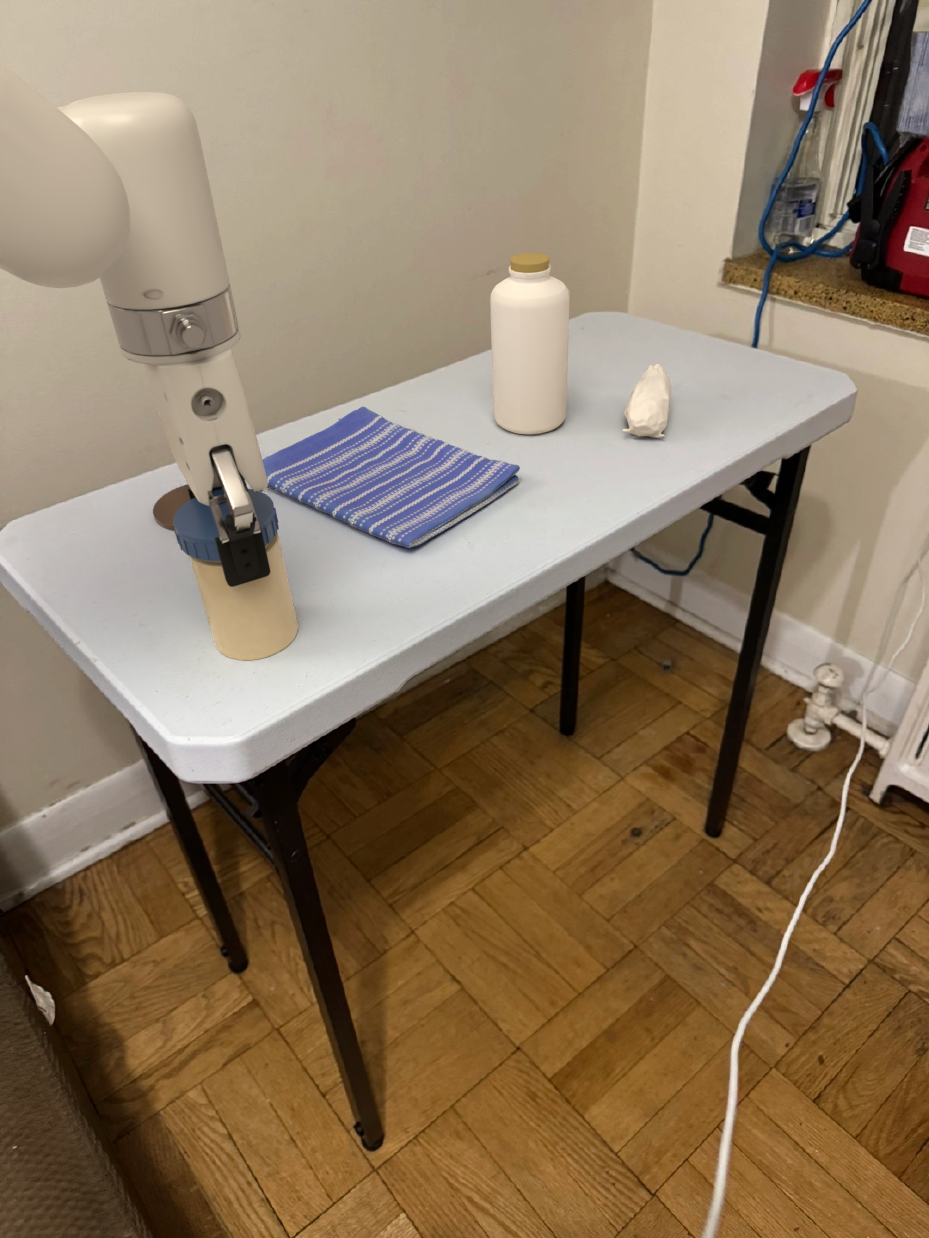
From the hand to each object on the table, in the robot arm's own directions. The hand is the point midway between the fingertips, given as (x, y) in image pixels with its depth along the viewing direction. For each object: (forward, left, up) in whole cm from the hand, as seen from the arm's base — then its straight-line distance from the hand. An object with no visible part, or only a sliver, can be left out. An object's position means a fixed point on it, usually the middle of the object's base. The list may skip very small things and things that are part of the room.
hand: (233, 552), depth 66 cm
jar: (0, 0, -8) cm, 8 cm away
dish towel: (+19, +18, -8) cm, 27 cm away
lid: (0, 0, +3) cm, 3 cm away
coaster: (+1, +23, -8) cm, 24 cm away
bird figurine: (+50, +14, -8) cm, 53 cm away
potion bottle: (+39, +22, -8) cm, 45 cm away
